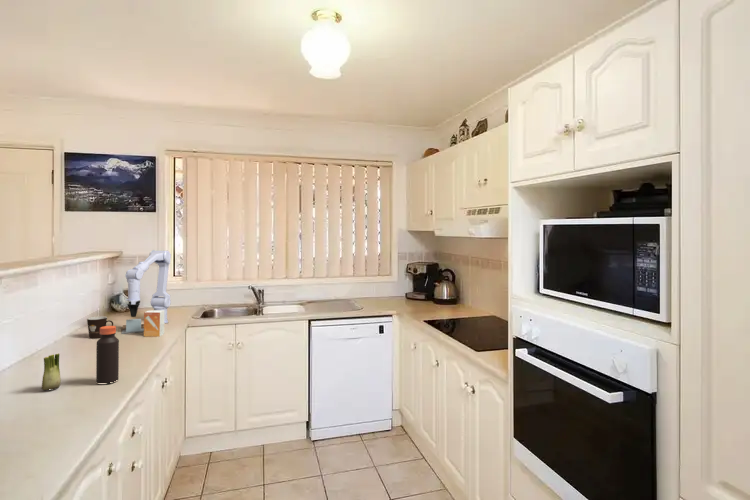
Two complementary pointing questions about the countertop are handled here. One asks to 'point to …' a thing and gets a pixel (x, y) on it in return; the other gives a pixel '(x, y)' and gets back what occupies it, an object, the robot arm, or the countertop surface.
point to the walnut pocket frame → (125, 327)
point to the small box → (153, 323)
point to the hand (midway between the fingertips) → (134, 315)
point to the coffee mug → (96, 326)
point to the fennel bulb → (51, 373)
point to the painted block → (133, 325)
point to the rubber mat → (132, 331)
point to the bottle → (107, 356)
